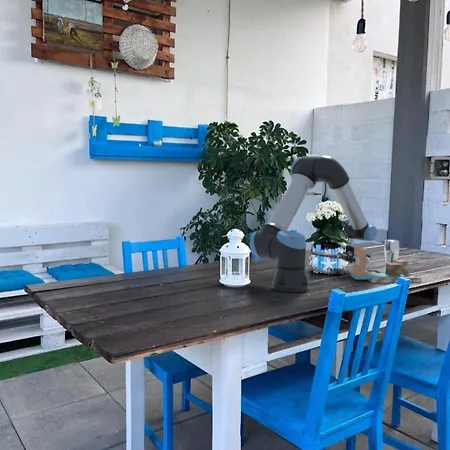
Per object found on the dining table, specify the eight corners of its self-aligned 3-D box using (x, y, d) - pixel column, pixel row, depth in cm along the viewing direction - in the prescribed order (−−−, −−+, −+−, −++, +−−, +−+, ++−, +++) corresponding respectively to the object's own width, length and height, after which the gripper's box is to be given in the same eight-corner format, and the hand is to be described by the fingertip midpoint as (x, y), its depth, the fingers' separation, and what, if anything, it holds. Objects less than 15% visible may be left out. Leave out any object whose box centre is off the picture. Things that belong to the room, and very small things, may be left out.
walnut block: (389, 275, 208) (390, 264, 208) (385, 273, 213) (385, 262, 213) (400, 275, 209) (401, 264, 208) (396, 273, 214) (396, 262, 213)
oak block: (399, 272, 217) (399, 261, 217) (392, 270, 222) (392, 259, 222) (408, 271, 219) (408, 261, 218) (400, 269, 224) (401, 259, 223)
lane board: (372, 282, 206) (372, 277, 205) (357, 273, 225) (357, 269, 224) (421, 282, 207) (421, 277, 207) (402, 273, 226) (402, 268, 226)
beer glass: (399, 272, 228) (400, 241, 226) (384, 271, 229) (385, 241, 228) (397, 269, 235) (398, 239, 233) (382, 268, 236) (383, 239, 235)
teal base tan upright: (356, 279, 207) (357, 249, 205) (351, 276, 213) (352, 247, 212) (404, 278, 208) (406, 249, 207) (398, 275, 215) (399, 247, 213)
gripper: (364, 260, 228) (382, 269, 205) (329, 260, 227) (344, 270, 204) (364, 245, 227) (383, 252, 204) (329, 245, 226) (344, 253, 203)
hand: (363, 261), depth 204 cm, fingers closed on teal base tan upright, 4 cm apart
